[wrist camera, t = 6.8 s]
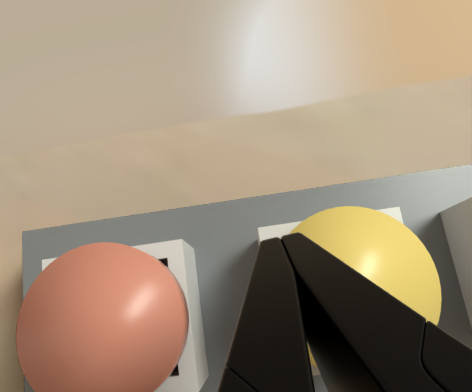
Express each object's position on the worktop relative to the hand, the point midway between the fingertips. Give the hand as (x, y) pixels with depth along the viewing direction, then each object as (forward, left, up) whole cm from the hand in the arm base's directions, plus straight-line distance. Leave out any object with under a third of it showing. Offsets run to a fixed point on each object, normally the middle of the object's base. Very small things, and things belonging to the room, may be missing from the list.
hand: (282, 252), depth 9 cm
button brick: (-5, +3, -9) cm, 11 cm away
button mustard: (+1, -2, -9) cm, 9 cm away
